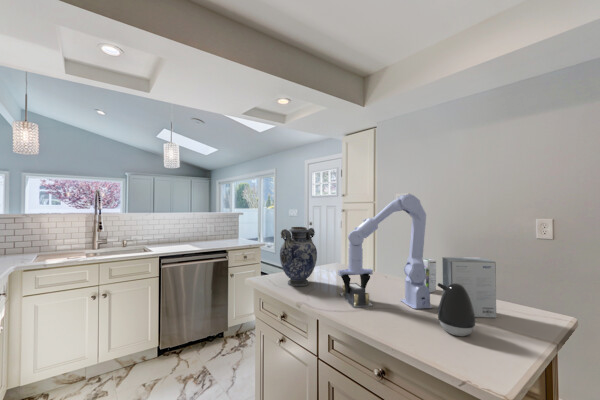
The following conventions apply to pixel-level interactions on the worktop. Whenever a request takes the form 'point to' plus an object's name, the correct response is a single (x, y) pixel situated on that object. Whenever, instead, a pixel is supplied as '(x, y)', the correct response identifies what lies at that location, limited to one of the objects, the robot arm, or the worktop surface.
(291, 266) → the decorative vase
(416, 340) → the worktop surface
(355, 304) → the brass peg board
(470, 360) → the worktop surface
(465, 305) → the pump dispenser
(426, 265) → the syrup box
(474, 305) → the hard drive box
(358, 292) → the block
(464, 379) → the worktop surface
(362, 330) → the worktop surface
